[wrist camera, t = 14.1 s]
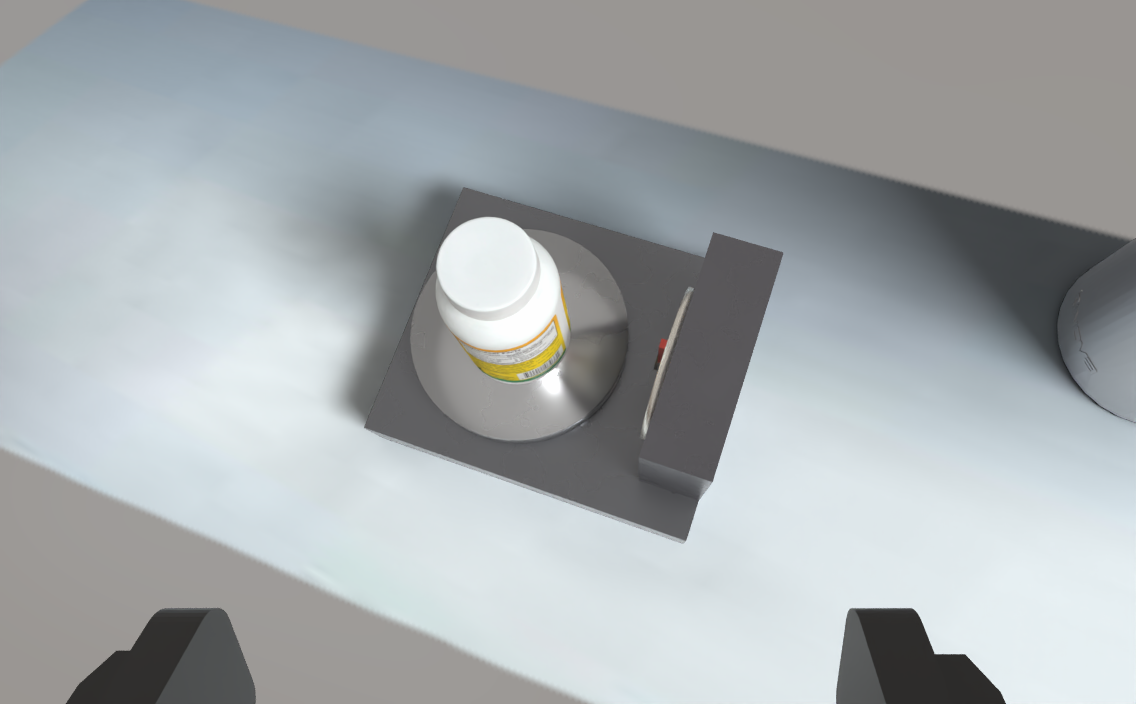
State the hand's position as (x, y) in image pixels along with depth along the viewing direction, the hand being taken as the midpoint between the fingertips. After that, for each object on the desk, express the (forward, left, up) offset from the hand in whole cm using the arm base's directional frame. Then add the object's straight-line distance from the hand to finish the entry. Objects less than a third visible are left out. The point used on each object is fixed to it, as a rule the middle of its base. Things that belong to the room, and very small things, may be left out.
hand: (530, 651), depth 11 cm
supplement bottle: (+4, -13, -28) cm, 31 cm away
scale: (+2, -12, -32) cm, 35 cm away
